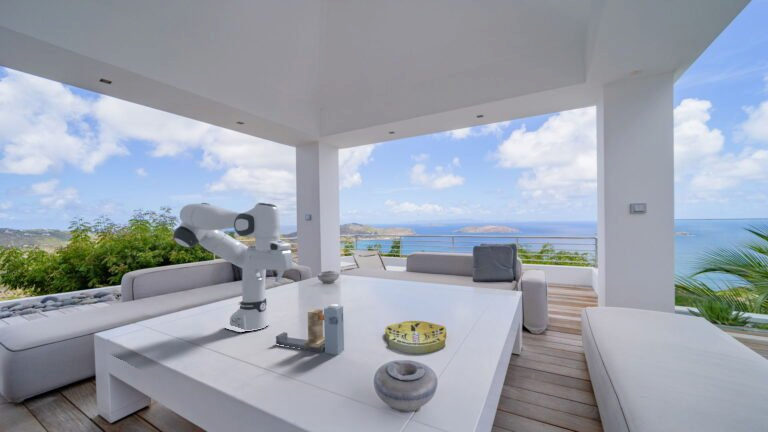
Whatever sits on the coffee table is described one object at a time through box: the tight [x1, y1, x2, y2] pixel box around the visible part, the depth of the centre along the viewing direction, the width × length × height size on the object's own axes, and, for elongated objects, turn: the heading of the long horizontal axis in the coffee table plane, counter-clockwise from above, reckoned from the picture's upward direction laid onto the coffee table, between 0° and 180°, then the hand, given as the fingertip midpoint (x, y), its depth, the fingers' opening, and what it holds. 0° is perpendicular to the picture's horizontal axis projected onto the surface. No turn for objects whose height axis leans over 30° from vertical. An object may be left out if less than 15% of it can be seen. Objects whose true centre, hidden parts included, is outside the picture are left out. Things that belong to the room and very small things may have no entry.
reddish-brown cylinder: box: [318, 313, 324, 321], centre depth 122 cm, size 6×2×2 cm, turn 69°
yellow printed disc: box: [385, 320, 447, 354], centre depth 131 cm, size 28×3×30 cm
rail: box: [275, 331, 325, 354], centre depth 126 cm, size 24×5×4 cm, turn 69°
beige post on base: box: [304, 308, 325, 347], centre depth 124 cm, size 7×7×14 cm
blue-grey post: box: [323, 303, 345, 356], centre depth 120 cm, size 6×5×19 cm
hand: (268, 281), depth 112 cm, fingers open, 8 cm apart
